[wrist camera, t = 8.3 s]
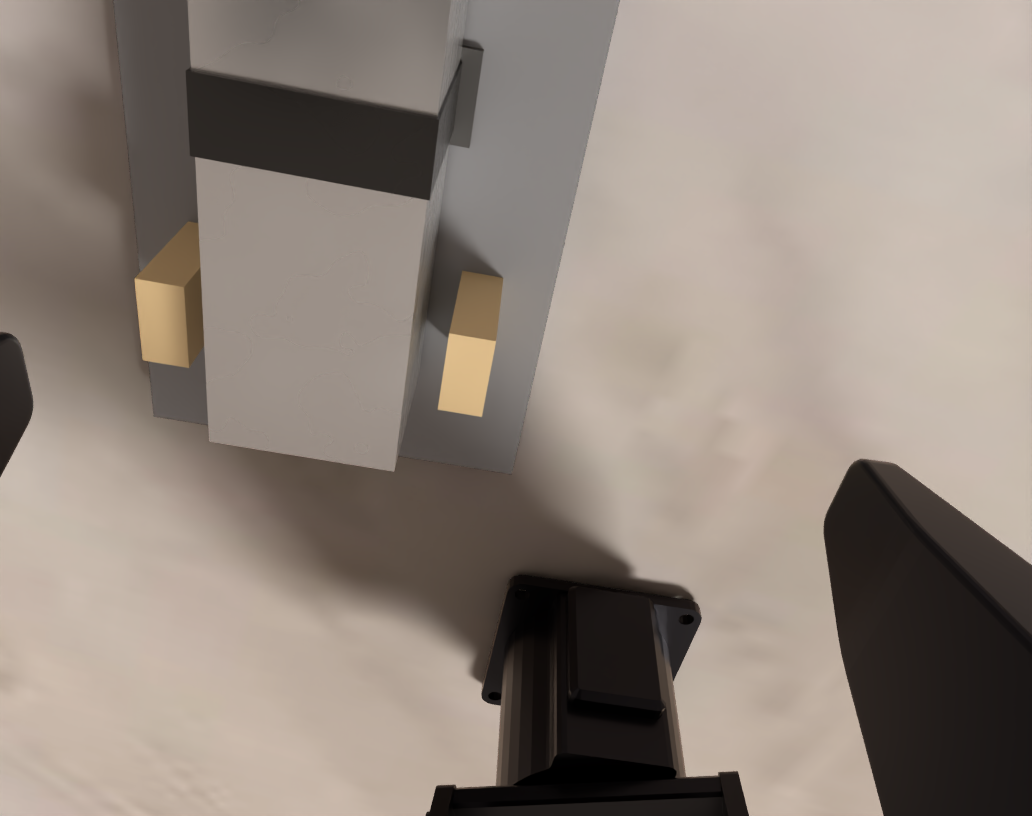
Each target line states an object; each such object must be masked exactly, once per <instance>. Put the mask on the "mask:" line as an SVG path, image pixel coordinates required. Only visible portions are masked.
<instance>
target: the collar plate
mask: <svg viewBox="0 0 1032 816" xmlns="http://www.w3.org/2000/svg"><path fill="white" fill-rule="evenodd" d="M619 2H620V0H468V6H467V14H466V21H465V29H464V36H463V44H462V52H461V59H460V61H461V62H463V63H462V70H461V78H460V85H459V93H458V100H457V108H456V115H455V123H454V130H453V133H452V136H451V139H450V143H449V150H448V158H447V165H446V173H445V181H444V188H443V196H442V203H441V211H440V219H439V226H438V234H437V241H436V249H435V256H434V264H433V272H432V279H431V287H430V294H429V302H428V310H427V317H426V325H425V332H424V340H423V348H422V355H421V363H420V370H419V375H418V379H417V383H416V387H415V391H414V395H413V399H412V403H411V407H410V411H409V415H408V419H407V423H406V427H405V431H404V435H403V439H402V443H401V447H400V451H399V455H398V456H401V457H407V458H413V459H419V460H425V461H431V462H438V463H444V464H450V465H456V466H462V467H468V468H474V469H481V470H487V471H493V472H499V473H505V474H511V475H512V471H513V467H514V462H515V458H516V453H517V449H518V445H519V440H520V436H521V432H522V427H523V423H524V418H525V414H526V410H527V405H528V401H529V396H530V392H531V388H532V383H533V379H534V375H535V370H536V366H537V361H538V357H539V353H540V348H541V344H542V339H543V335H544V331H545V326H546V322H547V318H548V313H549V309H550V304H551V300H552V296H553V291H554V287H555V282H556V278H557V274H558V269H559V265H560V261H561V256H562V252H563V247H564V243H565V239H566V234H567V230H568V225H569V221H570V217H571V212H572V208H573V204H574V199H575V195H576V190H577V186H578V182H579V177H580V173H581V168H582V164H583V160H584V155H585V151H586V147H587V142H588V138H589V133H590V129H591V125H592V120H593V116H594V111H595V107H596V103H597V98H598V94H599V90H600V85H601V81H602V76H603V72H604V68H605V63H606V59H607V54H608V50H609V46H610V41H611V37H612V33H613V28H614V24H615V19H616V15H617V11H618V6H619ZM113 3H114V14H115V24H116V34H117V44H118V55H119V65H120V75H121V85H122V96H123V106H124V116H125V126H126V137H127V147H128V157H129V167H130V178H131V188H132V198H133V208H134V219H135V229H136V239H137V249H138V260H139V270H140V273H139V274H138V275H137V276H136V277H135V278H134V280H135V290H136V300H137V309H138V319H139V329H140V339H141V349H142V358H143V360H144V361H148V362H149V372H150V383H151V393H152V403H153V413H154V417H161V418H167V419H173V420H179V421H185V422H191V423H198V424H204V425H208V410H207V390H206V369H205V349H204V328H203V308H202V287H201V267H200V246H199V225H198V205H197V184H196V164H195V157H192V156H190V147H189V128H188V109H187V90H186V70H187V69H189V68H190V67H191V61H190V41H189V20H188V0H113Z"/></svg>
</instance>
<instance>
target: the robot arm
mask: <svg viewBox="0 0 1032 816" xmlns="http://www.w3.org/2000/svg"><path fill="white" fill-rule="evenodd" d="M32 411H33V396H32V392H31V387H30V383H29V378H28V374H27V370H26V365H25V361H24V356H23V352H22V348H21V345H20V343H19V341H18V340H17V338H16V337H14V336H13V335H11V334H10V333H5V332H0V477H1V475H2V473H3V471H4V469H5V467H6V466H7V464H8V462H9V460H10V458H11V456H12V454H13V452H14V450H15V448H16V447H17V445H18V443H19V441H20V439H21V437H22V435H23V433H24V431H25V429H26V428H27V426H28V424H29V421H30V419H31V416H32ZM824 540H825V547H826V554H827V561H828V568H829V575H830V582H831V589H832V596H833V603H834V610H835V617H836V624H837V631H838V637H839V643H840V648H841V654H842V658H843V663H844V667H845V671H846V675H847V679H848V683H849V686H850V690H851V694H852V698H853V702H854V705H855V709H856V713H857V717H858V720H859V724H860V728H861V732H862V735H863V739H864V743H865V747H866V751H867V754H868V758H869V762H870V766H871V769H872V773H873V777H874V781H875V784H876V788H877V792H878V796H879V800H880V803H881V807H882V811H883V815H884V816H1032V565H1031V564H1029V563H1028V562H1027V561H1025V560H1024V559H1023V558H1021V557H1020V556H1019V555H1017V554H1016V553H1015V552H1013V551H1012V550H1011V549H1009V548H1008V547H1007V546H1005V545H1004V544H1003V543H1001V542H1000V541H999V540H997V539H996V538H995V537H993V536H992V535H991V534H989V533H988V532H986V531H985V530H984V529H982V528H981V527H980V526H978V525H977V524H976V523H974V522H973V521H972V520H970V519H969V518H968V517H966V516H965V515H964V514H962V513H961V512H960V511H958V510H957V509H956V508H954V507H953V506H952V505H950V504H949V503H948V502H946V501H945V500H943V499H942V498H941V497H939V496H938V495H937V494H935V493H934V492H933V491H931V490H930V489H929V488H927V487H926V486H925V485H923V484H922V483H921V482H919V481H918V480H917V479H915V478H914V477H913V476H911V475H910V474H909V473H907V472H906V471H905V470H903V469H902V468H900V467H899V466H898V465H896V464H893V463H889V462H882V461H875V460H868V459H859V460H857V461H855V462H854V463H853V464H852V465H851V466H850V467H849V469H848V470H847V472H846V474H845V476H844V479H843V481H842V483H841V485H840V487H839V489H838V491H837V493H836V495H835V497H834V499H833V501H832V503H831V505H830V507H829V509H828V511H827V514H826V517H825V521H824ZM519 589H524V590H526V591H521V590H519ZM687 614H688V615H687ZM701 618H702V617H701V612H700V608H699V606H698V604H697V603H695V602H693V601H690V600H684V599H678V598H671V597H665V596H658V595H652V594H645V593H639V592H632V591H626V590H619V589H613V588H607V587H600V586H594V585H587V584H581V583H574V582H568V581H561V580H555V579H548V578H542V577H535V576H529V575H517V576H514V577H512V578H511V579H510V580H509V582H508V584H507V588H506V592H505V596H504V600H503V604H502V608H501V612H500V616H499V620H498V624H497V628H496V632H495V636H494V640H493V644H492V648H491V652H490V656H489V660H488V664H487V668H486V672H485V676H484V680H483V684H482V699H483V700H484V701H485V702H487V703H490V704H494V705H501V712H500V728H499V744H498V760H497V776H496V786H486V787H464V788H456V785H438V786H436V789H435V793H434V797H433V801H432V805H431V809H430V812H427V813H426V816H749V814H748V810H747V806H746V802H745V798H744V794H743V790H742V786H741V782H740V778H739V774H738V771H733V772H718V776H699V777H686V773H685V766H684V758H683V751H682V744H681V737H680V729H679V722H678V715H677V708H676V700H675V693H674V686H673V681H674V679H675V676H676V674H677V672H678V670H679V668H680V666H681V664H682V661H683V659H684V657H685V655H686V653H687V651H688V649H689V646H690V644H691V642H692V640H693V638H694V636H695V634H696V631H697V629H698V627H699V625H700V623H701Z"/></svg>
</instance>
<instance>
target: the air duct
mask: <svg viewBox="0 0 1032 816" xmlns="http://www.w3.org/2000/svg"><path fill="white" fill-rule="evenodd" d="M467 6H468V0H188V20H189V41H190V61H191V67H190V68H189V69H187V70H186V90H187V109H188V128H189V147H190V156H192V157H195V164H196V184H197V205H198V225H199V246H200V267H201V287H202V308H203V328H204V349H205V369H206V390H207V410H208V431H209V442H214V443H220V444H226V445H232V446H238V447H245V448H251V449H257V450H263V451H269V452H275V453H282V454H288V455H294V456H300V457H306V458H312V459H319V460H325V461H331V462H337V463H343V464H349V465H356V466H362V467H368V468H374V469H380V470H387V471H393V472H394V471H395V467H396V463H397V459H398V455H399V451H400V447H401V443H402V439H403V435H404V431H405V427H406V423H407V419H408V415H409V411H410V407H411V403H412V399H413V395H414V391H415V387H416V383H417V379H418V375H419V370H420V363H421V355H422V348H423V340H424V332H425V325H426V317H427V310H428V302H429V294H430V287H431V279H432V272H433V264H434V256H435V249H436V241H437V234H438V226H439V219H440V211H441V203H442V196H443V188H444V181H445V173H446V165H447V158H448V150H449V143H450V139H451V136H452V133H453V130H454V123H455V115H456V108H457V100H458V93H459V85H460V78H461V70H462V63H463V62H461V61H460V59H461V52H462V44H463V36H464V29H465V21H466V14H467Z"/></svg>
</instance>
